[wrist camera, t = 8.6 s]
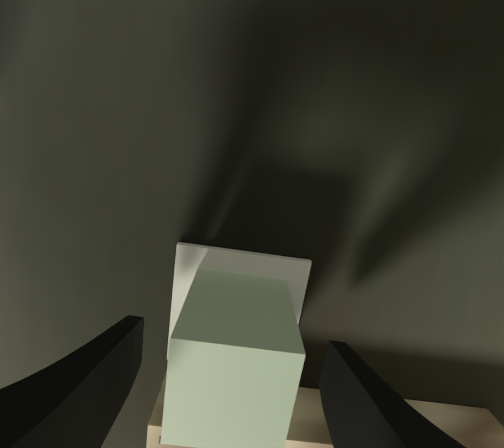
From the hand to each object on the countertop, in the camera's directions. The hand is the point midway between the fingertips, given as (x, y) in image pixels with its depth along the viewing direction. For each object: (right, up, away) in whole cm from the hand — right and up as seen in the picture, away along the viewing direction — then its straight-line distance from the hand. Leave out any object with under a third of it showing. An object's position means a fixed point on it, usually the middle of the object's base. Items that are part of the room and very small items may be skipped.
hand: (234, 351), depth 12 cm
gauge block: (0, +1, +3) cm, 3 cm away
